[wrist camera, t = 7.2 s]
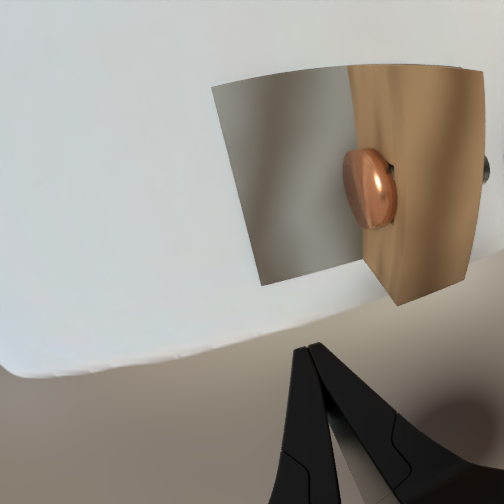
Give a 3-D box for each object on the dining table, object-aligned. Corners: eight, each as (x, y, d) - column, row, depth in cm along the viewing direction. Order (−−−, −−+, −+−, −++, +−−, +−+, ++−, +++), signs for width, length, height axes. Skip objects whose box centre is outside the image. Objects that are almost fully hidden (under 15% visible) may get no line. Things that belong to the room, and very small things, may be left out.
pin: (458, 127, 17) (502, 145, 13) (456, 183, 20) (495, 209, 16) (339, 142, 17) (375, 163, 13) (345, 209, 20) (377, 244, 16)
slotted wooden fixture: (458, 67, 15) (518, 77, 10) (455, 227, 23) (497, 264, 18) (211, 87, 15) (212, 89, 10) (260, 282, 23) (276, 343, 18)
